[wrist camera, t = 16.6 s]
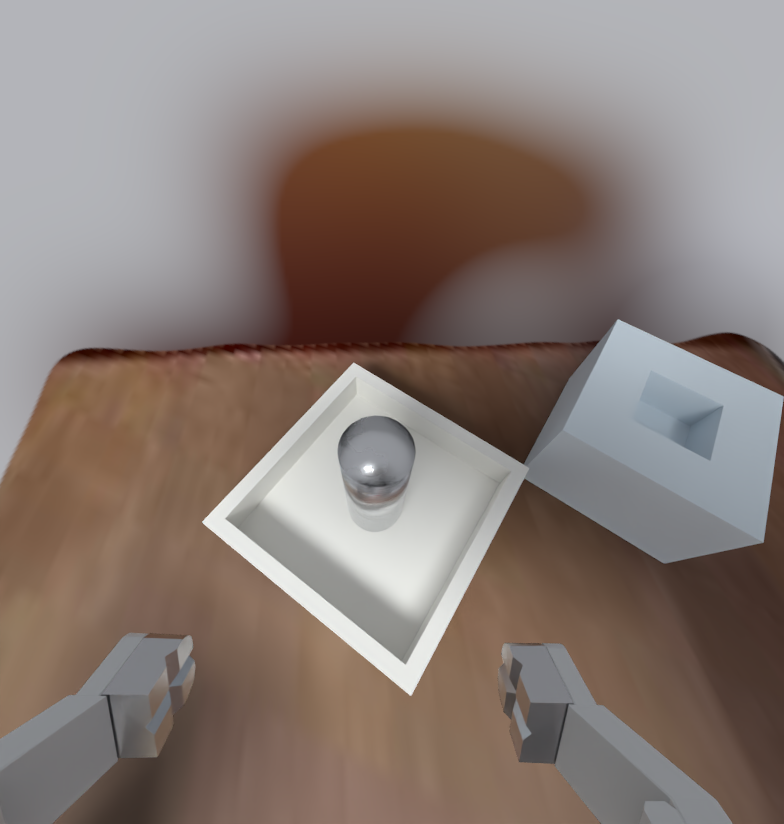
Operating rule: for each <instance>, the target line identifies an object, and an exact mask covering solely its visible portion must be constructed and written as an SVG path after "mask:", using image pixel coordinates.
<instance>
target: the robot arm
mask: <svg viewBox="0 0 784 824" xmlns="http://www.w3.org/2000/svg"><path fill="white" fill-rule="evenodd" d="M192 648H193V643H192V637H191V636H188V635H171V634H152V633H149V634H145V633H128V634H127V635H125V636H124V637H123V638H122V639H121V640H120V641H119V642H118V643H117V645H116V646H115V647H114V648H113V650H112V651H111V652H110V653H109V655H108V656H107V657H106V658H105V659H104V661H103V662H102V663H101V664H100V666H99V667H98V668H97V669H96V671H95V672H94V673H93V674H92V675H91V677H90V678H89V679H88V680H87V682H86V683H85V684H84V685H83V687H82V688H81V689H80V690H79V691H78V693H77V694H76V695H68V696H67V697H65V698H64V699H62V700H61V701H59V702H57V703H56V704H54V705H53V706H51V707H50V708H48V709H46V710H45V711H43V712H42V713H40V714H39V715H37V716H36V717H34V718H32V719H31V720H29V721H28V722H26V723H25V724H23V725H21V726H20V727H18V728H17V729H15V730H14V731H12V732H10V733H9V734H7V735H6V736H4V737H3V738H1V739H0V824H52V823H53V822H54V821H55V820H56V819H57V818H59V817H60V816H61V815H62V814H63V813H64V812H65V811H66V810H67V809H68V808H69V807H70V806H71V805H72V804H73V803H74V802H75V801H76V800H77V799H78V798H79V797H81V796H82V795H83V794H84V793H85V792H86V791H87V790H88V789H89V788H90V787H91V786H92V785H93V784H94V783H95V782H96V781H97V780H98V779H99V778H100V777H102V776H103V775H104V774H105V773H106V772H107V771H108V770H109V769H110V768H111V767H112V766H113V765H114V764H115V763H116V762H117V761H118V758H145V757H158V755H159V753H160V751H161V749H162V747H163V745H164V743H165V741H166V739H167V738H168V736H169V734H170V732H171V730H172V728H173V726H174V724H173V714H174V713H176V712H177V711H178V710H179V709H180V708H182V707H183V706H184V704H185V702H186V700H187V698H188V696H189V694H190V691H191V688H192V685H193V681H194V676H195V661H194V660H193V659H192V658H191V657H190V656H189V654H190V652H191V650H192ZM501 655H502V658H503V661H504V664H503V665H502V666H501V667H500V668H499V673H498V691H499V696H500V701H501V705H502V708H503V712H504V713H505V714H506V715H507V716H508V717H509V718H510V719H511V724H510V730H509V731H510V735H511V738H512V741H513V744H514V747H515V751H516V754H517V757H518V760H519V762H529V763H550V764H555V767H556V768H557V769H558V771H559V772H560V773H561V774H562V776H563V777H564V778H565V779H566V781H567V782H568V783H569V784H570V786H571V787H572V788H573V789H574V791H575V792H576V793H577V794H578V796H579V797H580V798H581V799H582V801H583V802H584V803H585V804H586V806H587V807H588V808H589V809H590V811H591V812H592V813H593V814H594V816H595V817H596V818H597V819H598V820H599V822H600V823H601V824H733V823H732V822H731V820H730V819H729V818H728V816H727V815H726V813H725V812H724V810H723V809H722V807H721V806H720V804H719V803H718V801H717V800H716V799H715V798H713V797H712V796H711V795H710V794H709V793H707V792H706V791H705V790H704V789H703V788H701V787H700V786H699V785H698V784H697V783H695V782H694V781H693V780H692V779H691V778H689V777H688V776H687V775H686V774H685V773H683V772H682V771H681V770H680V769H679V768H678V767H676V766H675V765H674V764H673V763H672V762H670V761H669V760H668V759H667V758H666V757H664V756H663V755H662V754H661V753H660V752H658V751H657V750H656V749H655V748H654V747H652V746H651V745H650V744H649V743H648V742H646V741H645V740H644V739H643V738H642V737H640V736H639V735H638V734H637V733H636V732H634V731H633V730H632V729H631V728H630V727H628V726H627V725H626V724H625V723H624V722H622V721H621V720H620V719H619V718H618V717H616V716H615V715H614V714H613V713H612V712H610V711H609V710H608V709H607V708H606V707H604V706H603V705H597V704H596V702H595V700H594V699H593V697H592V695H591V693H590V691H589V690H588V688H587V686H586V684H585V682H584V681H583V679H582V677H581V675H580V673H579V672H578V670H577V668H576V666H575V665H574V663H573V661H572V659H571V657H570V656H569V654H568V652H567V650H566V648H565V647H564V646H563V645H562V644H548V643H542V644H540V643H504V645H503V647H502V653H501Z"/></svg>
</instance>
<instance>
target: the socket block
mask: <svg viewBox="0 0 784 824" xmlns="http://www.w3.org/2000/svg"><path fill="white" fill-rule="evenodd" d="M783 398H784V397H783V396H781V395H779V394H777V393H775V392H773V391H771V390H768V389H766V388H764V387H762V386H760V385H758V384H756V383H753V382H751V381H749V380H747V379H745V378H743V377H741V376H738V375H736V374H734V373H732V372H730V371H728V370H726V369H723V368H721V367H719V366H717V365H715V364H713V363H711V362H708V361H706V360H704V359H702V358H700V357H698V356H696V355H693V354H691V353H689V352H687V351H685V350H683V349H681V348H678V347H676V346H674V345H672V344H670V343H668V342H666V341H663V340H661V339H659V338H657V337H655V336H653V335H651V334H648V333H646V332H644V331H642V330H640V329H638V328H636V327H633V326H631V325H629V324H627V323H625V322H623V321H621V320H617V321H616V322H615V323H614V325H613V326H612V327H611V328H610V330H609V331H608V332H607V333H606V334H605V336H604V337H603V338H602V339H601V340H600V342H599V343H598V344H597V345H596V347H595V348H594V349H593V350H592V351H591V353H590V354H589V355H588V356H587V358H586V359H585V360H584V361H583V362H582V364H581V365H580V366H579V367H578V369H577V370H576V371H575V372H574V373H573V375H572V376H571V377H570V378H569V380H568V382H567V384H566V386H565V388H564V389H563V391H562V393H561V395H560V397H559V399H558V401H557V403H556V404H555V406H554V408H553V410H552V412H551V414H550V416H549V418H548V419H547V421H546V423H545V425H544V427H543V429H542V431H541V433H540V434H539V436H538V438H537V440H536V442H535V444H534V446H533V448H532V450H531V451H530V453H529V455H528V457H527V459H526V461H525V463H524V465H525V466H527V467H528V468H529V470H528V472H527V474H526V476H525V478H524V479H526V480H528V481H529V482H531V483H533V484H534V485H536V486H538V487H539V488H541V489H542V490H544V491H546V492H547V493H549V494H551V495H552V496H554V497H556V498H557V499H559V500H561V501H562V502H564V503H565V504H567V505H569V506H570V507H572V508H574V509H575V510H577V511H579V512H580V513H582V514H583V515H585V516H587V517H588V518H590V519H592V520H593V521H595V522H597V523H598V524H600V525H601V526H603V527H605V528H606V529H608V530H610V531H611V532H613V533H615V534H616V535H618V536H620V537H621V538H623V539H624V540H626V541H628V542H629V543H631V544H633V545H634V546H636V547H638V548H639V549H641V550H642V551H644V552H646V553H647V554H649V555H651V556H652V557H654V558H656V559H657V560H659V561H660V562H662V563H664V564H665V563H670V562H675V561H679V560H684V559H689V558H693V557H698V556H703V555H708V554H712V553H717V552H722V551H727V550H731V549H736V548H741V547H745V546H750V545H755V544H760V543H764V536H765V528H766V521H767V514H768V507H769V500H770V492H771V485H772V478H773V471H774V463H775V456H776V449H777V442H778V434H779V427H780V420H781V413H782V406H783Z"/></svg>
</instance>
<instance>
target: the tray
mask: <svg viewBox="0 0 784 824" xmlns="http://www.w3.org/2000/svg"><path fill="white" fill-rule="evenodd" d="M368 416H385V417H389V418H392V419H394V420H396V421H398V422H400V423H401V424H402V425H403V426H405V427H406V428H407V430H408V431H409V432H410V434H411V435H412V438H413V440H414V443H415V450H416V454H415V460H414V464H413V467H412V471H411V475H410V479H409V483H408V487H407V491H406V495H405V498H404V502H403V506H402V510H401V514H400V516H399V518H398V520H397V521H396V523H395V524H394V525H392V526H391V527H390V528H388V529H386V530H384V531H380V532H370V531H366V530H364V529H362V528H360V527H359V526H357V525H356V524H355V523H354V521H353V520H352V518H351V516H350V513H349V509H348V504H347V499H346V494H345V489H344V484H343V479H342V474H341V469H340V464H339V459H338V444H339V440H340V438H341V436H342V434H343V432H344V431H345V430H346V429H347V428H348V427H349V426H350V425H351V424H352V423H354V422H355V421H357V420H359V419H361V418H364V417H368ZM528 470H529V468H528V467H527V466H525V465H523V464H522V463H520V462H518V461H517V460H515V459H513V458H512V457H510V456H508V455H507V454H505V453H503V452H502V451H500V450H498V449H497V448H495V447H493V446H492V445H490V444H488V443H487V442H485V441H483V440H482V439H480V438H478V437H477V436H475V435H473V434H472V433H470V432H468V431H467V430H465V429H463V428H462V427H460V426H458V425H457V424H455V423H453V422H452V421H450V420H448V419H447V418H445V417H443V416H442V415H440V414H438V413H437V412H435V411H433V410H432V409H430V408H428V407H427V406H425V405H423V404H422V403H420V402H418V401H417V400H415V399H413V398H412V397H410V396H408V395H407V394H405V393H403V392H402V391H400V390H399V389H397V388H395V387H394V386H392V385H390V384H389V383H387V382H385V381H384V380H382V379H380V378H379V377H377V376H375V375H374V374H372V373H370V372H369V371H367V370H365V369H364V368H362V367H360V366H359V365H357V364H355V363H353V364H352V365H351V366H350V367H349V368H348V369H347V370H346V371H345V372H344V373H343V374H342V375H341V377H340V378H339V379H338V380H337V381H336V382H335V383H334V384H333V385H332V386H331V387H330V388H329V389H328V390H327V391H326V392H325V393H324V394H323V395H322V396H321V398H320V399H319V400H318V401H317V402H316V403H315V404H314V405H313V406H312V407H311V408H310V409H309V410H308V411H307V412H306V413H305V414H304V415H303V416H302V418H301V419H300V420H299V421H298V422H297V423H296V424H295V425H294V426H293V427H292V428H291V429H290V430H289V431H288V432H287V433H286V434H285V435H284V436H283V437H282V439H281V440H280V441H279V442H278V443H277V444H276V445H275V446H274V447H273V448H272V449H271V450H270V451H269V452H268V453H267V454H266V455H265V456H264V457H263V459H262V460H261V461H260V462H259V463H258V464H257V465H256V466H255V467H254V468H253V469H252V470H251V471H250V472H249V473H248V474H247V475H246V476H245V477H244V478H243V480H242V481H241V482H240V483H239V484H238V485H237V486H236V487H235V488H234V489H233V490H232V491H231V492H230V493H229V494H228V495H227V496H226V497H225V498H224V499H223V501H222V502H221V503H220V504H219V505H218V506H217V507H216V508H215V509H214V510H213V511H212V512H211V513H210V514H209V515H208V516H207V517H206V518H205V519H204V521H203V522H202V523H203V524H204V525H206V526H207V527H208V528H209V529H210V530H212V531H213V532H214V533H215V534H216V535H218V536H219V537H220V538H221V539H222V540H224V541H225V542H226V543H227V544H229V545H230V546H231V547H232V548H233V549H235V550H236V551H237V552H238V553H239V554H241V555H242V556H243V557H244V558H245V559H247V560H248V561H249V562H250V563H251V564H253V565H254V566H255V567H256V568H257V569H259V570H260V571H261V572H262V573H263V574H265V575H266V576H267V577H268V578H269V579H271V580H272V581H273V582H274V583H275V584H277V585H278V586H279V587H280V588H281V589H283V590H284V591H285V592H286V593H287V594H289V595H290V596H291V597H292V598H294V599H295V600H296V601H297V602H298V603H300V604H301V605H302V606H303V607H304V608H306V609H307V610H308V611H309V612H310V613H312V614H313V615H314V616H315V617H316V618H318V619H319V620H320V621H321V622H322V623H324V624H325V625H326V626H327V627H328V628H330V629H331V630H332V631H333V632H334V633H336V634H337V635H338V636H339V637H340V638H342V639H343V640H344V641H345V642H346V643H348V644H349V645H350V646H351V647H353V648H354V649H355V650H356V651H357V652H359V653H360V654H361V655H362V656H363V657H365V658H366V659H367V660H368V661H369V662H371V663H372V664H373V665H374V666H375V667H377V668H378V669H379V670H380V671H381V672H383V673H384V674H385V675H386V676H387V677H389V678H390V679H391V680H392V681H393V682H395V683H396V684H397V685H398V686H399V687H401V688H402V689H403V690H404V691H405V692H407V693H408V694H409V695H410V696H411V695H412V693H413V691H414V689H415V687H416V686H417V684H418V682H419V680H420V678H421V676H422V674H423V672H424V670H425V668H426V666H427V664H428V662H429V661H430V659H431V657H432V655H433V653H434V651H435V649H436V647H437V645H438V643H439V641H440V639H441V637H442V636H443V634H444V632H445V630H446V628H447V626H448V624H449V622H450V620H451V618H452V616H453V614H454V612H455V611H456V609H457V607H458V605H459V603H460V601H461V599H462V597H463V595H464V593H465V591H466V589H467V587H468V586H469V584H470V582H471V580H472V578H473V576H474V574H475V572H476V570H477V568H478V566H479V564H480V562H481V561H482V559H483V557H484V555H485V553H486V551H487V549H488V547H489V545H490V543H491V541H492V539H493V537H494V536H495V534H496V532H497V530H498V528H499V526H500V524H501V522H502V520H503V518H504V516H505V514H506V512H507V511H508V509H509V507H510V505H511V503H512V501H513V499H514V497H515V495H516V493H517V491H518V489H519V487H520V486H521V484H522V482H523V480H524V478H525V476H526V474H527V472H528Z"/></svg>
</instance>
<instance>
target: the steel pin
mask: <svg viewBox="0 0 784 824" xmlns="http://www.w3.org/2000/svg"><path fill="white" fill-rule="evenodd" d="M415 454H416V450H415V443H414V440H413V438H412V435H411V434H410V432H409V431H408V430H407V428H406V427H405V426H403V425H402V424H401V423H400V422H398V421H396V420H394V419H392V418H389V417H385V416H368V417H364V418H361V419H359V420H357V421H355V422H354V423H352V424H351V425H350V426H349V427H348V428H347V429H346V430H345V431H344V432H343V434H342V436H341V438H340V440H339V444H338V459H339V464H340V469H341V474H342V479H343V484H344V489H345V494H346V499H347V504H348V509H349V513H350V516H351V518H352V520H353V521H354V523H355V524H356V525H357V526H359V527H360V528H362V529H364V530H366V531H370V532H380V531H384V530H386V529H388V528H390V527H391V526H392V525H394V524H395V523H396V521H397V520H398V518H399V516H400V514H401V510H402V506H403V502H404V498H405V495H406V491H407V487H408V483H409V479H410V475H411V471H412V467H413V464H414V460H415Z"/></svg>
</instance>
